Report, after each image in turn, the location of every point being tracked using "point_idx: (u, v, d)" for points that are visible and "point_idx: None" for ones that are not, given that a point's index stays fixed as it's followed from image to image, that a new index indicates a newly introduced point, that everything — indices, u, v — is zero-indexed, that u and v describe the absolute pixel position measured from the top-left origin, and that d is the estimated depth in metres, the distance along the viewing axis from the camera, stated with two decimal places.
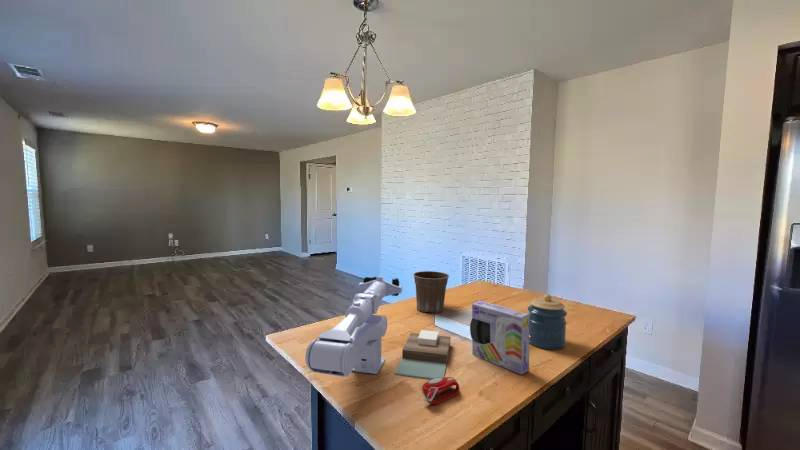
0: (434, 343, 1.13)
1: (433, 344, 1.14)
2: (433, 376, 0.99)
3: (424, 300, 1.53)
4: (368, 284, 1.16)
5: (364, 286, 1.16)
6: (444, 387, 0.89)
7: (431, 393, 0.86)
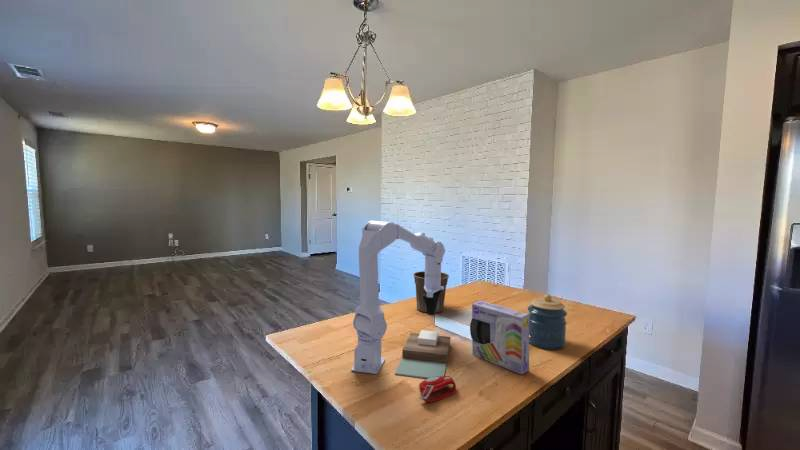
0: (434, 343, 1.13)
1: (433, 344, 1.14)
2: None
3: None
4: None
5: None
6: (441, 386, 0.90)
7: (426, 391, 0.87)
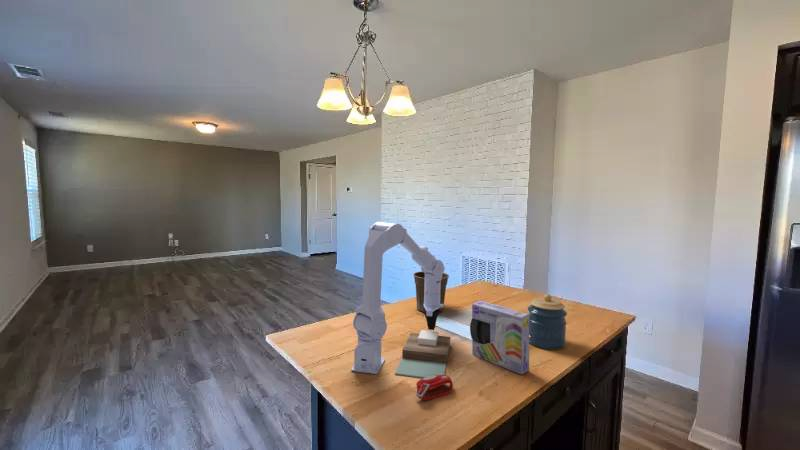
0: (434, 343, 1.13)
1: (433, 344, 1.14)
2: None
3: None
4: None
5: None
6: (437, 384, 0.91)
7: (422, 389, 0.88)
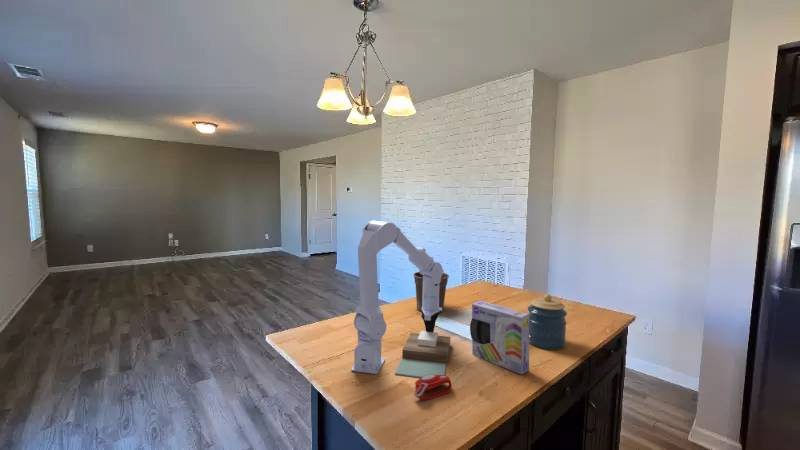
0: (434, 344, 1.13)
1: (433, 345, 1.13)
2: None
3: None
4: None
5: None
6: (435, 384, 0.91)
7: (420, 388, 0.88)
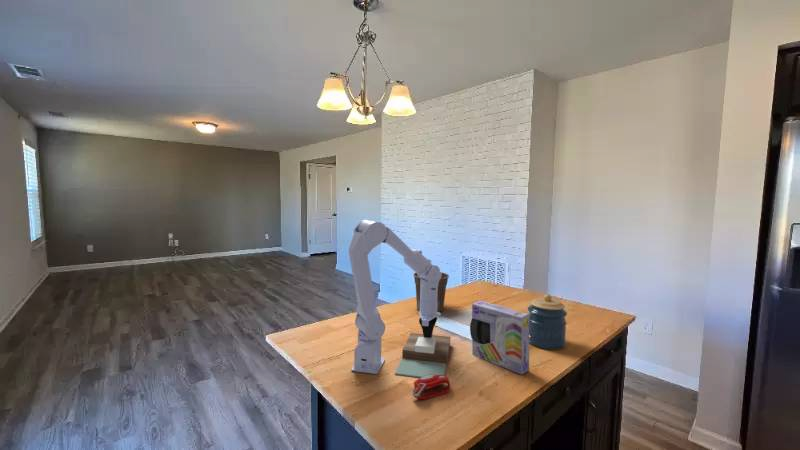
0: (432, 351, 1.08)
1: (431, 352, 1.08)
2: None
3: None
4: None
5: None
6: (434, 384, 0.91)
7: (418, 388, 0.88)
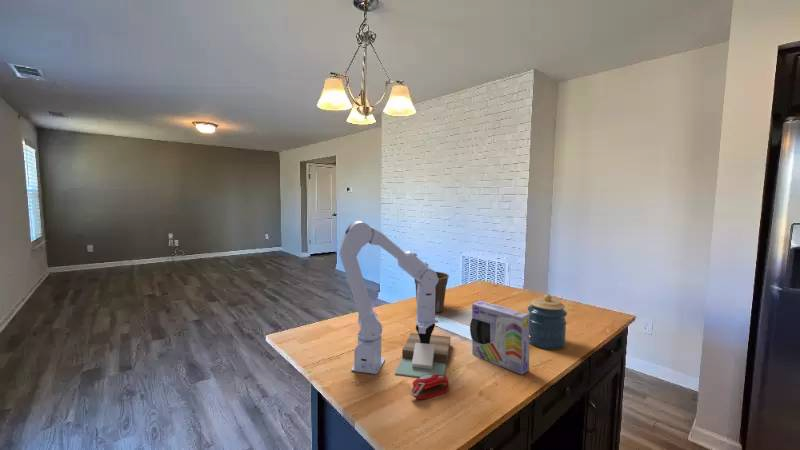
0: (430, 367, 1.03)
1: (429, 368, 1.03)
2: None
3: None
4: None
5: None
6: (433, 384, 0.91)
7: (417, 388, 0.88)
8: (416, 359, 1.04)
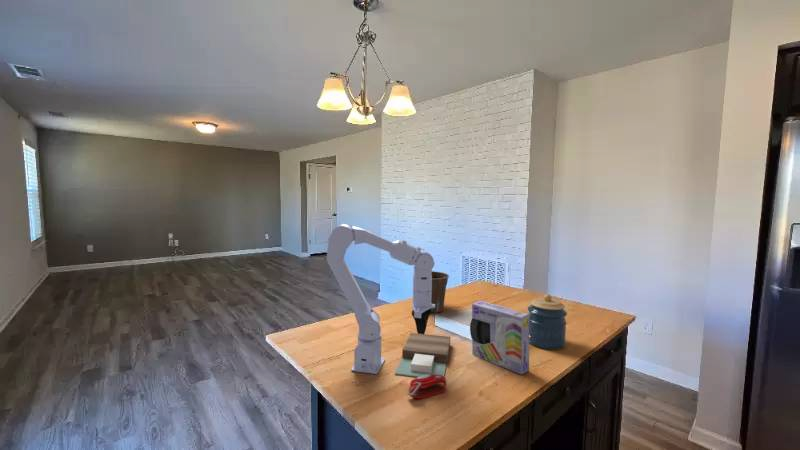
0: (429, 370, 1.01)
1: (428, 371, 1.01)
2: None
3: None
4: None
5: None
6: (429, 384, 0.91)
7: (413, 387, 0.89)
8: (415, 362, 1.03)
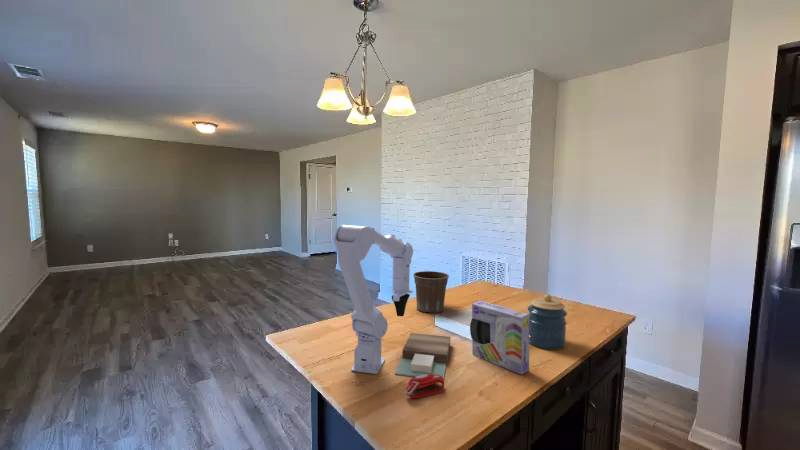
0: (429, 370, 1.01)
1: (428, 371, 1.01)
2: None
3: (424, 300, 1.53)
4: None
5: None
6: (427, 383, 0.91)
7: (411, 387, 0.89)
8: (415, 362, 1.03)
